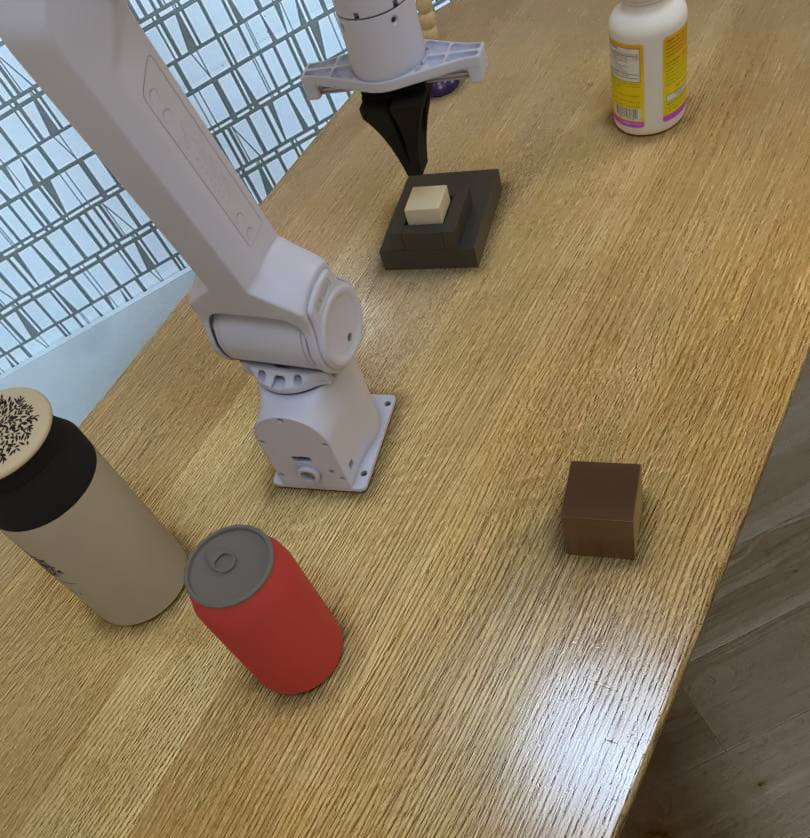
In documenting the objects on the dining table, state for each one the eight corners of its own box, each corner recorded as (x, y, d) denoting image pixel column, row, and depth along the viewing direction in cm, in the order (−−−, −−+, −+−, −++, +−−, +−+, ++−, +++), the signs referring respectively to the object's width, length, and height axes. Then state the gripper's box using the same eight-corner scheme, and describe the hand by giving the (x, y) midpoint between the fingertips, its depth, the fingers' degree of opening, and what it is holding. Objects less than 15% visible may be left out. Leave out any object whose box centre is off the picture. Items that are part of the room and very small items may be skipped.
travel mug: (167, 520, 68) (32, 362, 53) (206, 585, 63) (69, 432, 48) (82, 577, 67) (-80, 432, 52) (115, 647, 62) (-53, 510, 47)
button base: (478, 268, 75) (470, 230, 72) (384, 271, 78) (372, 235, 75) (502, 188, 80) (495, 150, 77) (413, 194, 83) (403, 157, 80)
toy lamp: (470, 76, 92) (438, -99, 79) (449, 101, 91) (412, -73, 77) (433, 73, 94) (396, -97, 81) (412, 98, 93) (370, -72, 79)
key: (442, 225, 74) (438, 208, 72) (408, 226, 75) (403, 210, 73) (450, 201, 75) (446, 184, 74) (417, 203, 76) (412, 186, 75)
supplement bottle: (682, 91, 81) (686, -56, 71) (688, 131, 78) (693, -18, 67) (611, 104, 83) (604, -38, 73) (614, 144, 79) (607, 1, 69)
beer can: (298, 595, 60) (229, 499, 51) (365, 639, 57) (304, 545, 47) (237, 666, 58) (152, 581, 49) (302, 716, 55) (225, 635, 45)
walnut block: (635, 559, 55) (633, 522, 52) (566, 554, 57) (560, 516, 53) (642, 503, 57) (641, 463, 54) (576, 499, 59) (571, 460, 55)
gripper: (482, -46, 60) (510, 132, 71) (299, -16, 65) (352, 145, 76) (461, 7, 56) (493, 185, 67) (269, 34, 61) (329, 196, 72)
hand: (417, 168), depth 71 cm, fingers closed
